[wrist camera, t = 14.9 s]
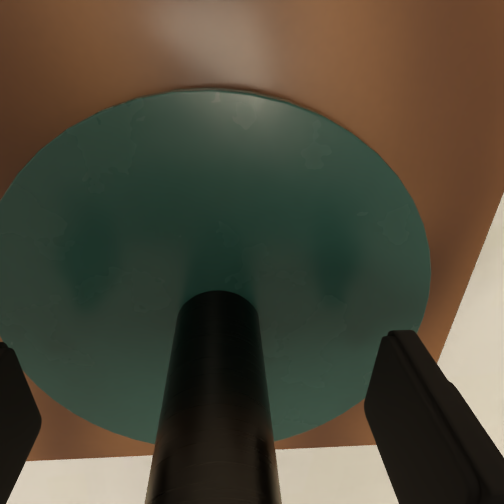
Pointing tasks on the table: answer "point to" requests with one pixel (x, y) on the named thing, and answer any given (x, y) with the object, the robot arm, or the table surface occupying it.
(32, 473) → the table surface
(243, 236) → the pot lid
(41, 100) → the square wooden board
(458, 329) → the table surface
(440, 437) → the robot arm
